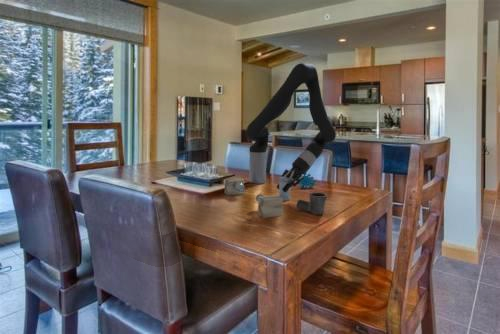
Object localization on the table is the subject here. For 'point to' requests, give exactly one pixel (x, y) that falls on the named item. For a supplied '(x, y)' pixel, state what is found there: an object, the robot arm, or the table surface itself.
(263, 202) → the block
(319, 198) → the pipe
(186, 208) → the table surface
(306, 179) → the blue spiky round piece
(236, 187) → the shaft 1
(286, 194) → the coupling
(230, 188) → the block
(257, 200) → the shaft
